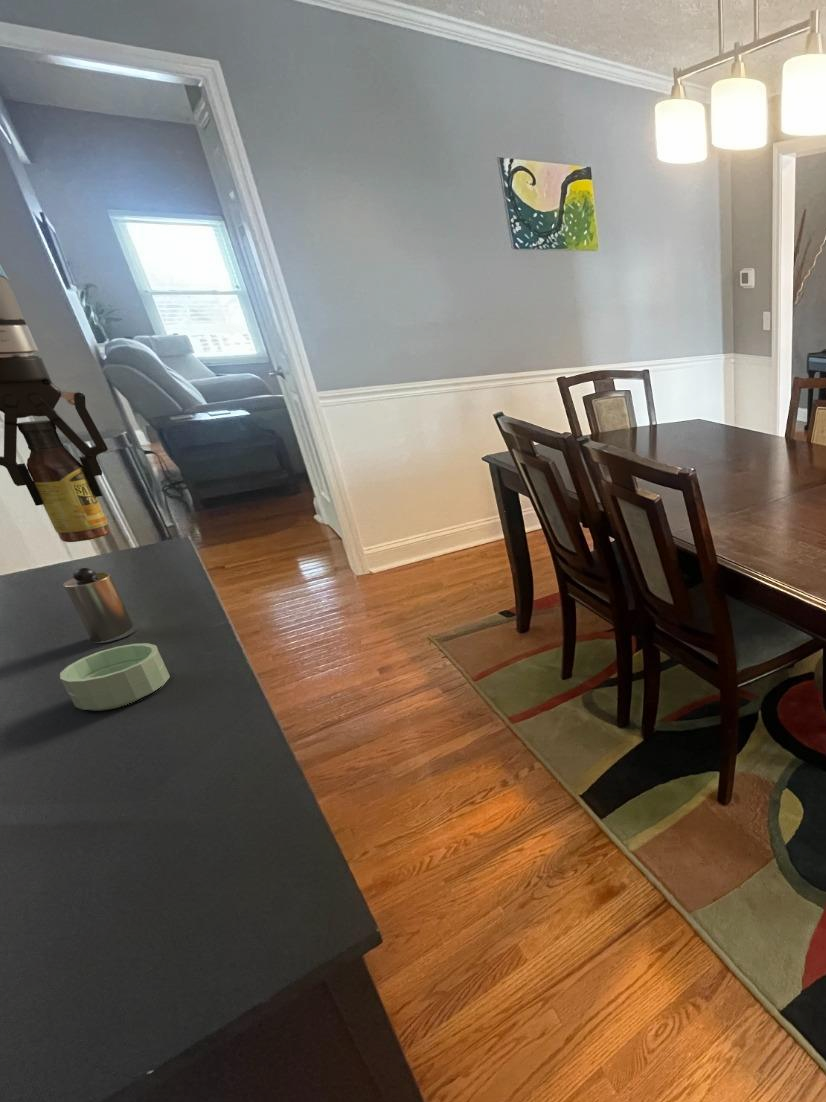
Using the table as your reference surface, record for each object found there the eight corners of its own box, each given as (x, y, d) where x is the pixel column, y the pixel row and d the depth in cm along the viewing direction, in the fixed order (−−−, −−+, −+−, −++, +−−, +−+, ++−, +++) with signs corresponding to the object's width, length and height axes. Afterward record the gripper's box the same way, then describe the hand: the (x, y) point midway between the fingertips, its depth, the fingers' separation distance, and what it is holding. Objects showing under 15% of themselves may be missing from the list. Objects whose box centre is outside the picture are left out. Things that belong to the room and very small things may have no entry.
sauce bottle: (107, 539, 103) (55, 422, 95) (55, 546, 99) (-3, 426, 92) (116, 528, 108) (67, 417, 100) (67, 535, 104) (13, 420, 97)
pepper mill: (82, 644, 93) (47, 575, 88) (112, 628, 97) (80, 562, 93) (116, 643, 93) (82, 575, 88) (144, 627, 97) (114, 561, 93)
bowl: (56, 714, 77) (37, 682, 75) (122, 674, 85) (107, 644, 83) (130, 712, 77) (113, 680, 75) (188, 672, 85) (175, 642, 83)
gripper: (-103, 359, 83) (-20, 517, 92) (93, 353, 96) (149, 491, 105) (-95, 357, 88) (-17, 507, 97) (91, 351, 101) (145, 484, 110)
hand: (69, 498), depth 101 cm, fingers closed on sauce bottle, 6 cm apart
